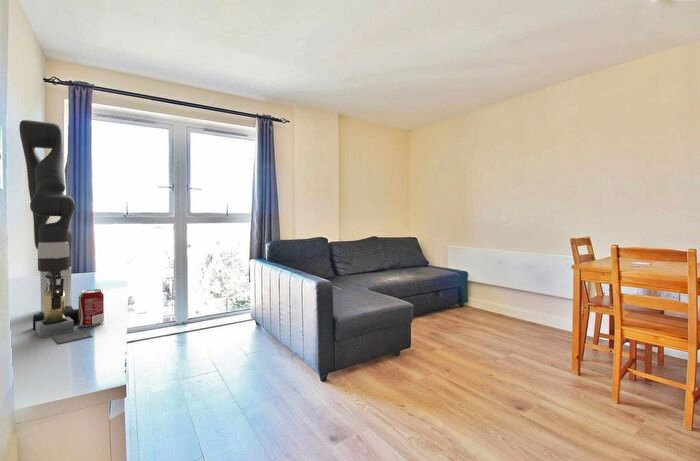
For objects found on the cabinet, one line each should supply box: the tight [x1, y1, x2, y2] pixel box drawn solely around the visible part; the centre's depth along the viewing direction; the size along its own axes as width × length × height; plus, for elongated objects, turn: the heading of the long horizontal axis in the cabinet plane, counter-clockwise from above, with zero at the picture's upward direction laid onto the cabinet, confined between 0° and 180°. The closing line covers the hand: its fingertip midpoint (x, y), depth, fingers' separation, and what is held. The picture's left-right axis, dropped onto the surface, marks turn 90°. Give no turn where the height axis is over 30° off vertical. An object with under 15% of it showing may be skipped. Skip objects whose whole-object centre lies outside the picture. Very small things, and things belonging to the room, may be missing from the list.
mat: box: [52, 329, 93, 345], centre depth 98 cm, size 8×8×1 cm
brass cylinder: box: [43, 291, 65, 322], centre depth 102 cm, size 5×5×9 cm
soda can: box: [78, 288, 105, 328], centre depth 110 cm, size 7×7×12 cm
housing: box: [35, 316, 75, 339], centre depth 102 cm, size 8×8×4 cm
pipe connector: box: [32, 306, 79, 331], centre depth 113 cm, size 12×5×15 cm
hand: (54, 307), depth 102 cm, fingers closed on brass cylinder, 5 cm apart
